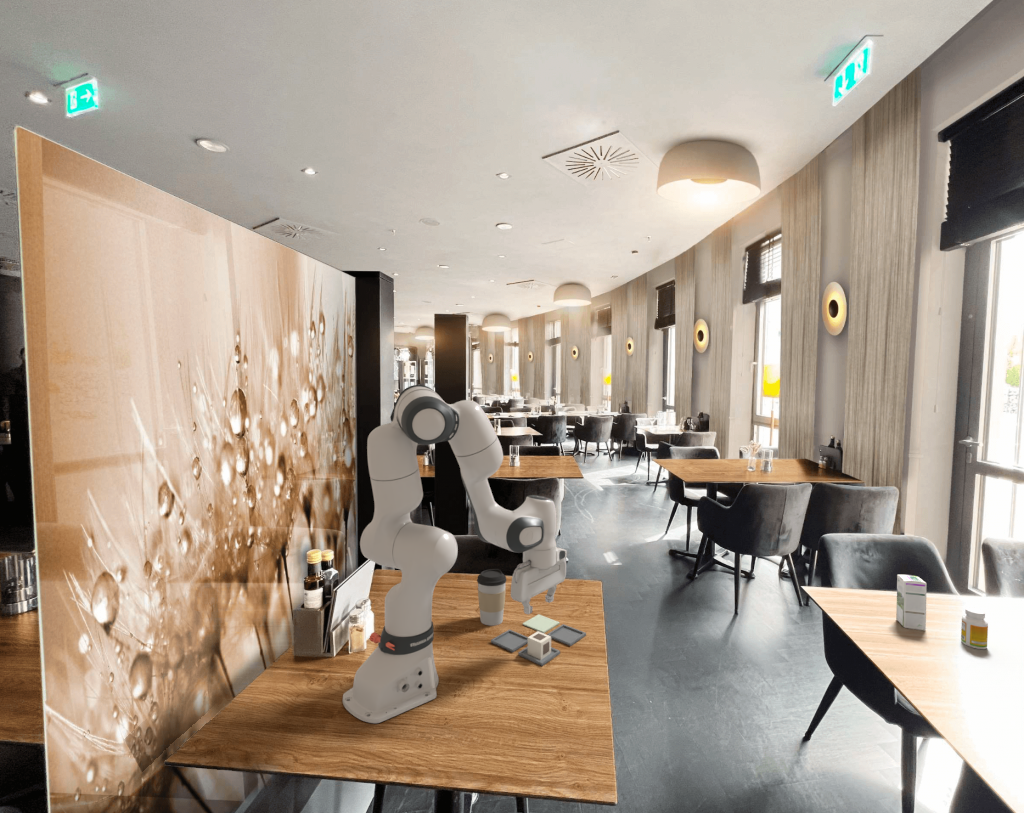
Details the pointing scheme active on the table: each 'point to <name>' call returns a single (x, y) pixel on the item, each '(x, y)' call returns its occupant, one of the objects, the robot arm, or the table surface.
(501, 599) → the coffee cup
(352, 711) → the robot arm
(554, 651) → the tray
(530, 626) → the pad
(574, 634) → the tray
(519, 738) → the table surface
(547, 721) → the table surface
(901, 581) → the syrup box
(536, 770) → the table surface
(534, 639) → the letter cube
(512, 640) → the tray
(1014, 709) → the table surface
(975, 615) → the supplement bottle
